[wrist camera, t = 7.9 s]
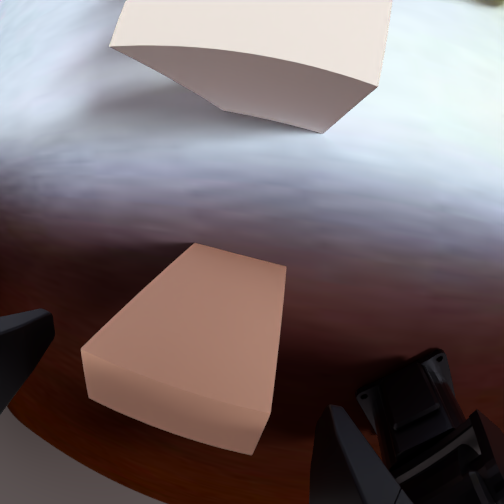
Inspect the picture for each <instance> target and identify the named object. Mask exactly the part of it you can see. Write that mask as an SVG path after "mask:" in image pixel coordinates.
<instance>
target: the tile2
mask: <svg viewBox="0 0 504 504" xmlns="http://www.w3.org/2000/svg"><path fill="white" fill-rule="evenodd" d="M391 7H392V0H126V1H125V4H124V6H123V9H122V11H121V14H120V17H119V19H118V22H117V25H116V27H115V30H114V33H113V36H112V39H111V42H110V45H109V47H111V48H113V49H115V50H117V51H119V52H121V53H123V54H125V55H127V56H129V57H131V58H133V59H135V60H137V61H139V62H141V63H143V64H144V65H146V66H148V67H150V68H152V69H154V70H156V71H157V72H159V73H161V74H163V75H165V76H166V77H168V78H170V79H172V80H173V81H175V82H177V83H179V84H180V85H182V86H184V87H185V88H187V89H189V90H191V91H192V92H194V93H196V94H197V95H199V96H200V97H202V98H204V99H205V100H207V101H209V102H210V103H212V104H213V105H215V106H217V107H218V108H220V109H221V110H223V111H228V112H233V113H239V114H244V115H249V116H253V117H258V118H263V119H267V120H272V121H276V122H280V123H284V124H288V125H292V126H296V127H300V128H304V129H308V130H311V131H315V132H318V133H322V134H323V133H324V132H326V131H327V130H328V129H329V128H330V127H331V126H332V125H334V124H335V123H336V122H337V121H338V120H339V119H341V118H342V117H343V116H344V115H345V114H346V113H347V112H349V111H350V110H351V109H352V108H353V107H354V106H356V105H357V104H358V103H359V102H360V101H361V100H363V99H364V98H365V97H366V96H367V95H369V94H370V93H371V92H372V91H373V90H375V89H376V88H377V87H378V84H379V79H380V74H381V69H382V64H383V58H384V53H385V47H386V41H387V35H388V28H389V21H390V14H391Z"/></svg>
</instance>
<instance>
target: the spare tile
mask: <svg viewBox="0 0 504 504" xmlns="http://www.w3.org/2000/svg"><path fill="white" fill-rule="evenodd" d="M285 277H286V266H282V265H278V264H274V263H270V262H267V261H263V260H259V259H255V258H251V257H247V256H243V255H240V254H236V253H232V252H228V251H224V250H220V249H216V248H213V247H209V246H205V245H201V244H197V243H194V244H193V245H191V246H190V247H189V248H188V249H187V250H186V251H185V252H184V253H182V254H181V255H180V256H179V257H178V258H177V259H176V260H175V261H173V262H172V263H171V264H170V265H169V266H168V267H167V268H166V269H165V270H163V271H162V272H161V273H160V274H159V275H158V276H157V277H156V278H155V279H154V280H152V281H151V282H150V283H149V284H148V285H147V286H146V287H145V288H144V289H143V290H142V291H140V292H139V293H138V294H137V295H136V296H135V297H134V298H133V299H132V300H131V301H130V302H129V303H128V304H127V305H125V306H124V307H123V308H122V309H121V310H120V311H119V312H118V313H117V314H116V315H115V316H114V317H113V318H112V319H111V320H110V321H109V322H108V323H107V324H106V325H104V326H103V327H102V328H101V329H100V330H99V331H98V332H97V333H96V334H95V335H94V336H93V337H92V338H91V339H90V340H89V341H88V342H87V343H86V344H85V345H84V346H83V347H82V348H81V354H82V361H83V368H84V374H85V380H86V386H87V391H88V396H89V398H90V399H92V400H94V401H96V402H98V403H100V404H102V405H104V406H106V407H109V408H111V409H113V410H115V411H117V412H120V413H122V414H124V415H127V416H129V417H131V418H134V419H136V420H139V421H141V422H144V423H146V424H149V425H151V426H154V427H157V428H159V429H162V430H165V431H168V432H170V433H173V434H176V435H179V436H182V437H185V438H189V439H192V440H195V441H198V442H202V443H205V444H209V445H212V446H216V447H219V448H223V449H227V450H231V451H235V452H239V453H244V454H248V455H252V454H253V452H254V449H255V447H256V445H257V443H258V441H259V439H260V436H261V434H262V432H263V430H264V427H265V425H266V423H267V421H268V418H269V416H270V414H271V406H272V399H273V391H274V382H275V374H276V365H277V357H278V348H279V338H280V329H281V319H282V309H283V299H284V288H285Z"/></svg>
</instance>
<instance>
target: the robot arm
mask: <svg viewBox="0 0 504 504" xmlns="http://www.w3.org/2000/svg"><path fill="white" fill-rule="evenodd" d="M54 336H55V330H54V322H53V316H52V314H51V313H50V312H48V311H47V310H45V309H37V310H32V311H27V312H22V313H18V314H13V315H8V316H3V317H0V415H1V413H2V412H3V410H4V409H5V408H6V406H7V405H8V403H9V402H10V401H11V399H12V398H13V397H14V395H15V394H16V393H17V391H18V390H19V389H20V387H21V386H22V385H23V383H24V382H25V381H26V379H27V378H28V377H29V375H30V374H31V373H32V371H33V370H34V368H35V367H36V365H37V364H38V362H39V361H40V359H41V357H42V356H43V354H44V353H45V351H46V350H47V348H48V347H49V345H50V344H51V342H52V341H53V339H54ZM439 356H440V357H439ZM438 357H439V358H438ZM363 394H365V395H363ZM356 398H357V401H358V402H359V404H360V406H361V408H362V409H363V411H364V413H365V414H366V416H367V418H368V420H369V421H370V423H371V425H372V427H373V428H374V430H375V432H376V434H377V436H378V441H379V446H380V451H381V456H382V461H383V462H382V461H381V459H380V458H379V457H378V455H377V454H376V452H375V451H374V450H373V448H372V447H371V446H370V444H369V443H368V441H367V440H366V439H365V437H364V436H363V435H362V433H361V432H360V430H359V429H358V428H357V426H356V425H355V423H354V422H353V421H352V419H351V418H350V416H349V415H348V414H347V412H346V411H345V410H344V408H343V407H342V406H338V405H332V404H330V405H328V406H327V407H326V409H325V410H324V412H323V414H322V415H321V417H320V419H319V420H318V422H317V425H316V431H315V439H314V447H313V454H312V461H311V469H310V499H309V504H504V435H503V433H502V431H501V430H500V429H499V428H498V427H497V426H496V425H495V424H494V423H492V422H491V421H490V420H489V419H488V418H487V417H486V416H484V415H483V414H482V413H481V412H480V411H479V410H476V411H474V412H473V413H472V414H471V415H470V416H469V418H468V419H467V420H466V419H465V417H464V414H463V412H462V410H461V408H460V406H459V404H458V402H457V400H456V398H455V394H454V389H453V384H452V379H451V374H450V369H449V365H448V361H447V357H446V354H445V353H444V351H443V350H441V349H439V350H436V351H434V352H433V353H431V354H429V355H427V356H426V357H424V358H422V359H420V360H418V361H416V362H414V363H412V364H411V365H409V366H407V367H405V368H403V369H401V370H399V371H397V372H395V373H393V374H391V375H389V376H386V377H384V378H382V379H380V380H378V381H376V382H374V383H371V384H369V385H367V386H365V387H362V388H360V389H358V390H357V392H356Z"/></svg>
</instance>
